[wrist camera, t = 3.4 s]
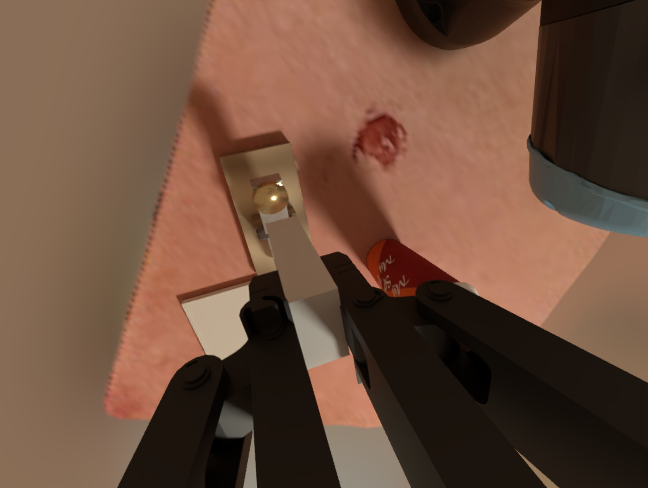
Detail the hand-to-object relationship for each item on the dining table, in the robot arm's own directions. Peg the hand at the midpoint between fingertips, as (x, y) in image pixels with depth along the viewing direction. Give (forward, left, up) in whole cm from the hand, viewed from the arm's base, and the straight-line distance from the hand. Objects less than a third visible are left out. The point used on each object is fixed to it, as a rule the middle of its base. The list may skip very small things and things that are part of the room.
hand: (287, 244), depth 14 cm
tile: (+17, -7, -18) cm, 26 cm away
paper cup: (+14, +13, -18) cm, 27 cm away
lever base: (+4, 0, -18) cm, 18 cm away
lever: (+4, 0, -13) cm, 14 cm away
